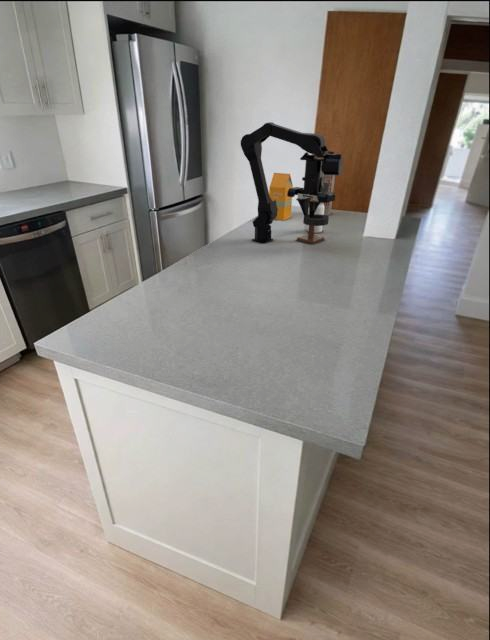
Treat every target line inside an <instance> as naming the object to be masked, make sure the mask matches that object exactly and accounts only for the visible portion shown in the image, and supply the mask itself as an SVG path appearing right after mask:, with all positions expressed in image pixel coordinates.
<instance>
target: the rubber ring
mask: <svg viewBox="0 0 490 640" xmlns="http://www.w3.org/2000/svg"><path fill="white" fill-rule="evenodd" d="M302 221H303V222H302V224H304V225H306V226H308V225H311V226H327V225H329V221H330V217H329V215H321V214H314V216H313V218H310V216H309V214H308V215H305V216H304V215H303V220H302Z"/></svg>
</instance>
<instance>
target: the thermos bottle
mask: <svg viewBox="0 0 490 640" xmlns="http://www.w3.org/2000/svg"><path fill="white" fill-rule="evenodd" d="M328 151H329V153H330V154H335V151H330V150H328ZM321 165H322V163H321ZM320 177H322V182H325V183H327V184H329V187H328V190H327V192H334V187H335V179H336V175H324V173H323V172H322V171H321V173H320ZM319 193H322V192H319ZM332 204H333V201H331V202H327V203H324V206H325V208H324V215H326V216H330V215H331V214H332V206H333V205H332Z"/></svg>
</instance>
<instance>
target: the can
mask: <svg viewBox="0 0 490 640" xmlns="http://www.w3.org/2000/svg"><path fill="white" fill-rule="evenodd" d="M324 208H325V206H324V203H323V202H321V203H320V204H319V205H318V207H317V209H316V212H315V214H321V215H324ZM308 230H309V225H307V231H308ZM322 231H323V226H315V229H314V234H320V233H322Z"/></svg>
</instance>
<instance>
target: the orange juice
mask: <svg viewBox="0 0 490 640" xmlns="http://www.w3.org/2000/svg"><path fill="white" fill-rule="evenodd" d="M289 188H294V185H293V180H292V177H291V174H290V173H283V172H273V175H272V177H271V181H270V184H269V187H268V192H269V196H270V198H271V199H272V201H274V200H276V205H277V208H278V211H277V216H276V218H275V219H274V220H277V221H286V220H288V219H291V217H292V203H293V197H288V196H287V192H288V190H289Z"/></svg>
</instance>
